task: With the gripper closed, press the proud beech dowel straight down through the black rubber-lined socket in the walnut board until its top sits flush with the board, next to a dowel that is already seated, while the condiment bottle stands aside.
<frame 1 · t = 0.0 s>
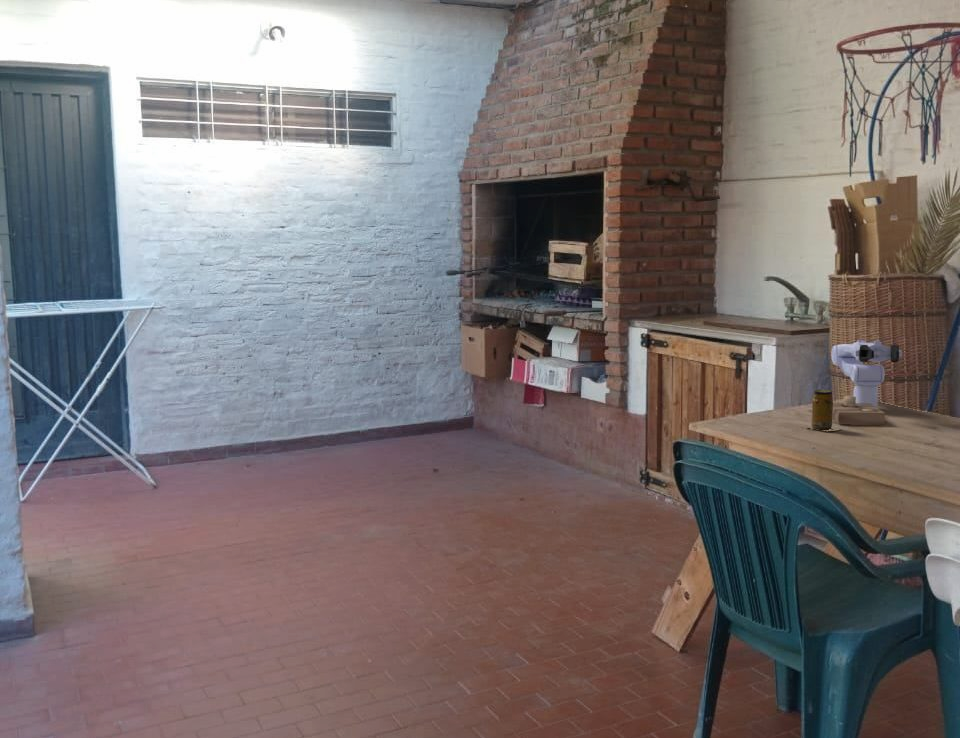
hand: (885, 354, 317), 22 cm above the table, tool horizontal, fingers open, 7 cm apart
peg: (849, 403, 326), point 5 cm above the table, slide at 3.0 cm
board: (854, 419, 323), on the table
condiment: (823, 430, 310), on the table
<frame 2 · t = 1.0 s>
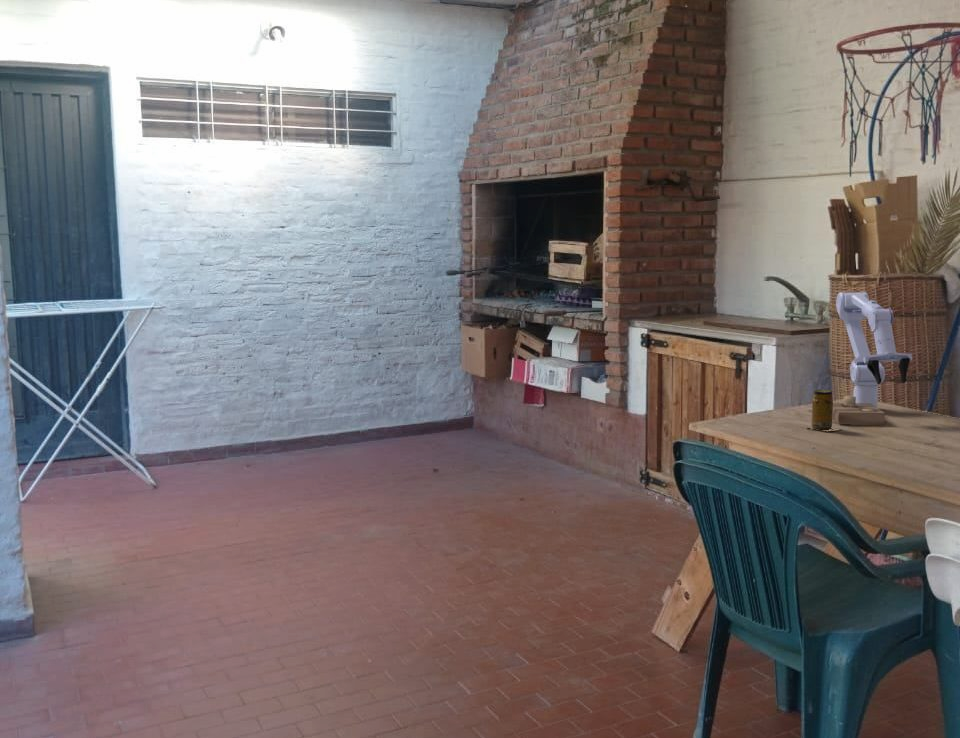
hand: (891, 382, 317), 13 cm above the table, tool tilted 30°, fingers open, 7 cm apart
nothing on the table moved.
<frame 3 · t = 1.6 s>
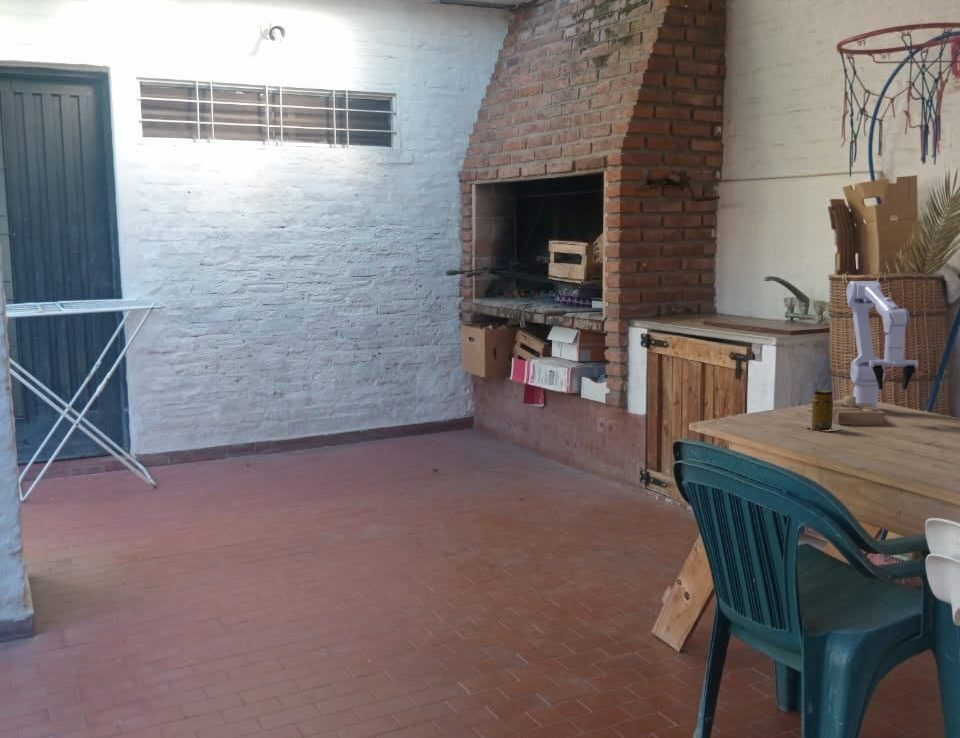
hand: (892, 389, 320), 10 cm above the table, tool pointing down, fingers open, 7 cm apart
nothing on the table moved.
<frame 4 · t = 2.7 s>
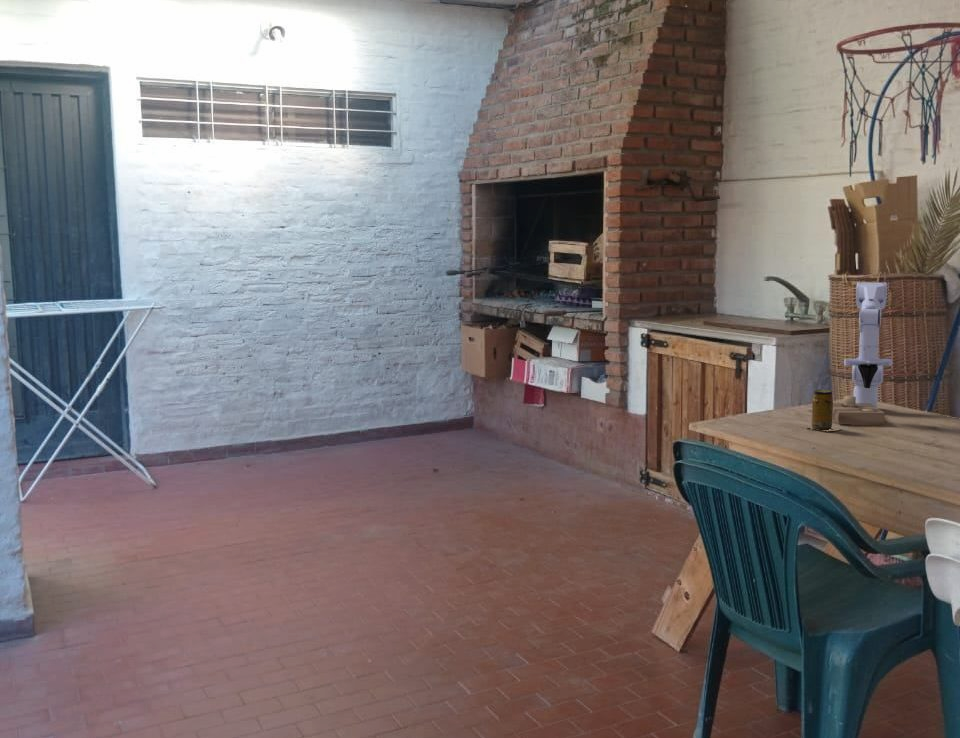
hand: (866, 387, 323), 10 cm above the table, tool pointing down, fingers closed
nothing on the table moved.
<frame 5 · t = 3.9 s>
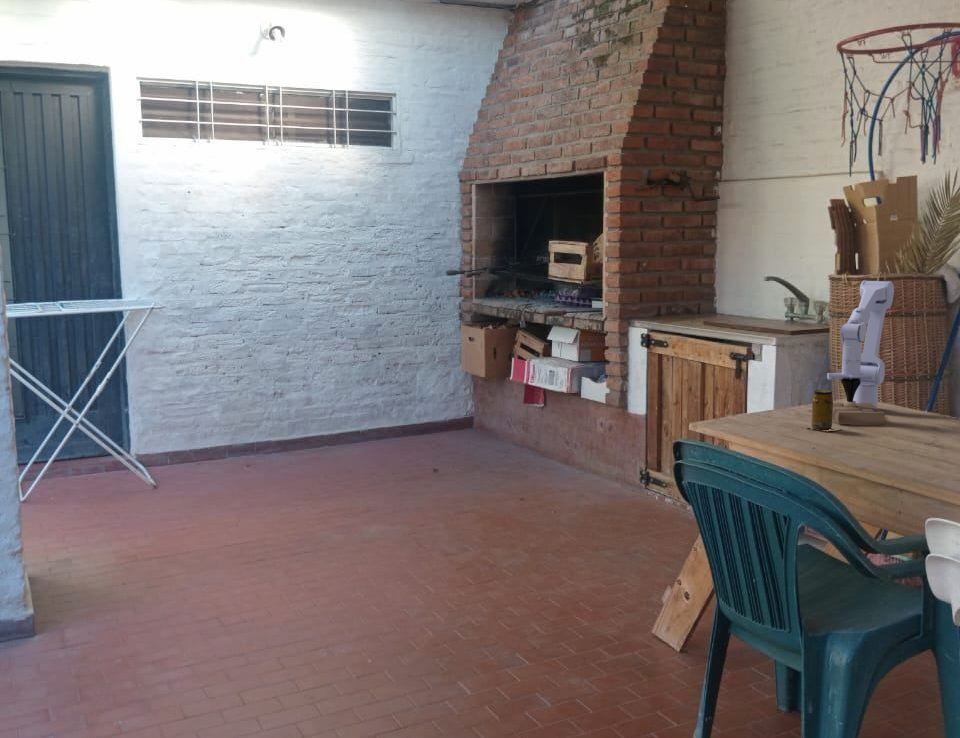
hand: (849, 401, 325), 6 cm above the table, tool pointing down, fingers closed, pressing on peg
peg: (849, 407, 326), point 4 cm above the table, slide at 1.5 cm, touching gripper
everything else where it was.
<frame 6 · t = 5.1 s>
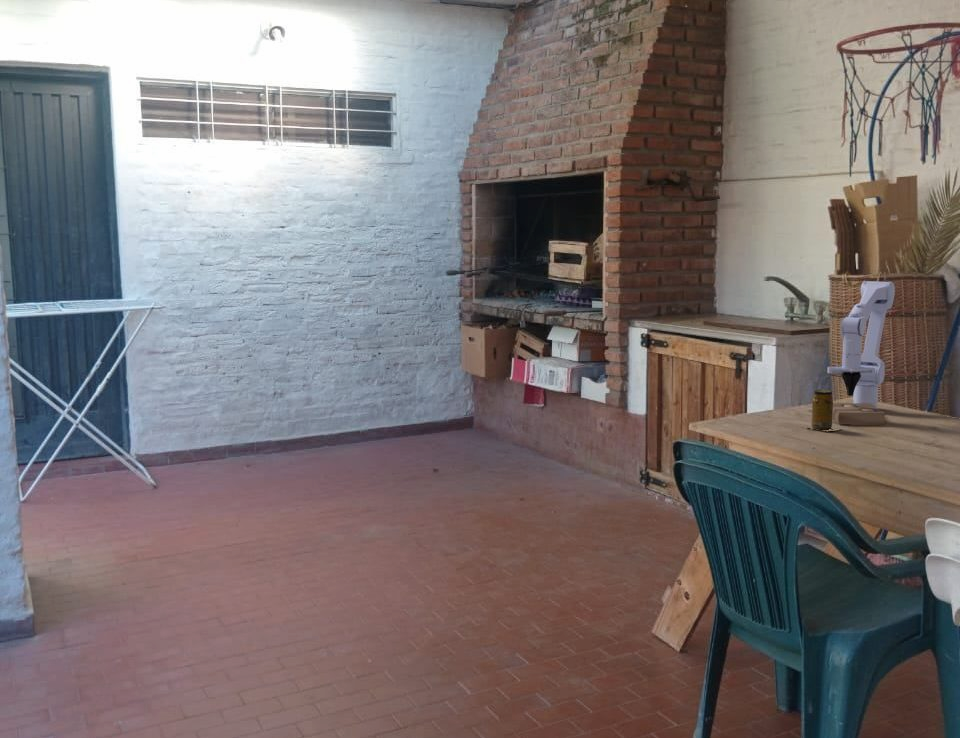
hand: (850, 395, 325), 8 cm above the table, tool pointing down, fingers closed
peg: (849, 411, 326), point 2 cm above the table, slide at 0.0 cm
everything else where it was.
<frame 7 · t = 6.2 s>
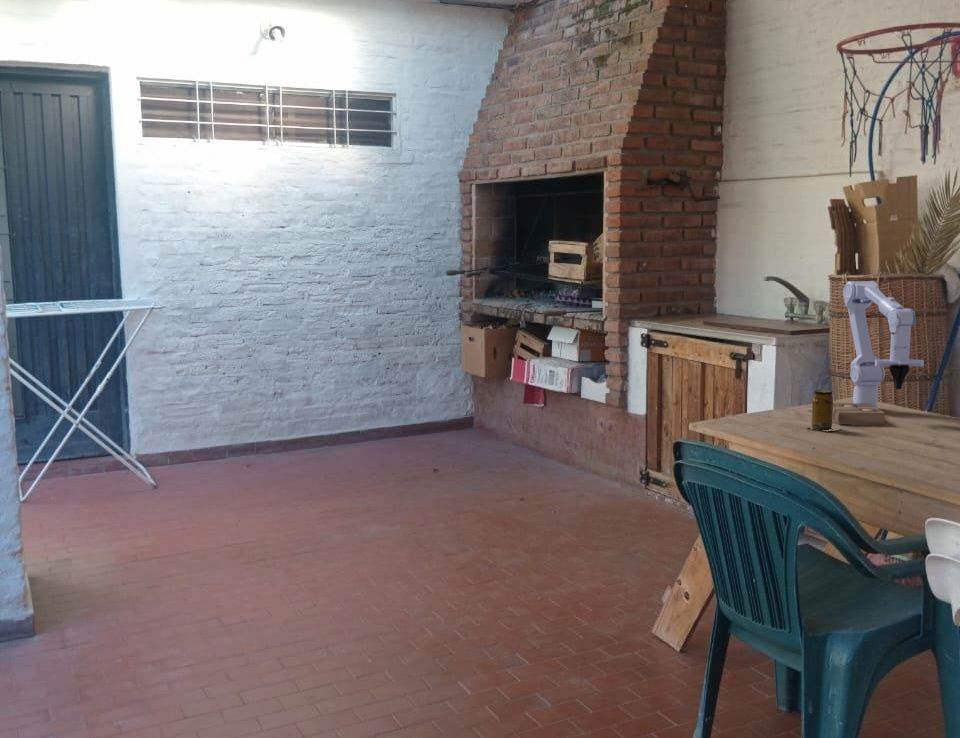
hand: (897, 388, 320), 10 cm above the table, tool pointing down, fingers closed
nothing on the table moved.
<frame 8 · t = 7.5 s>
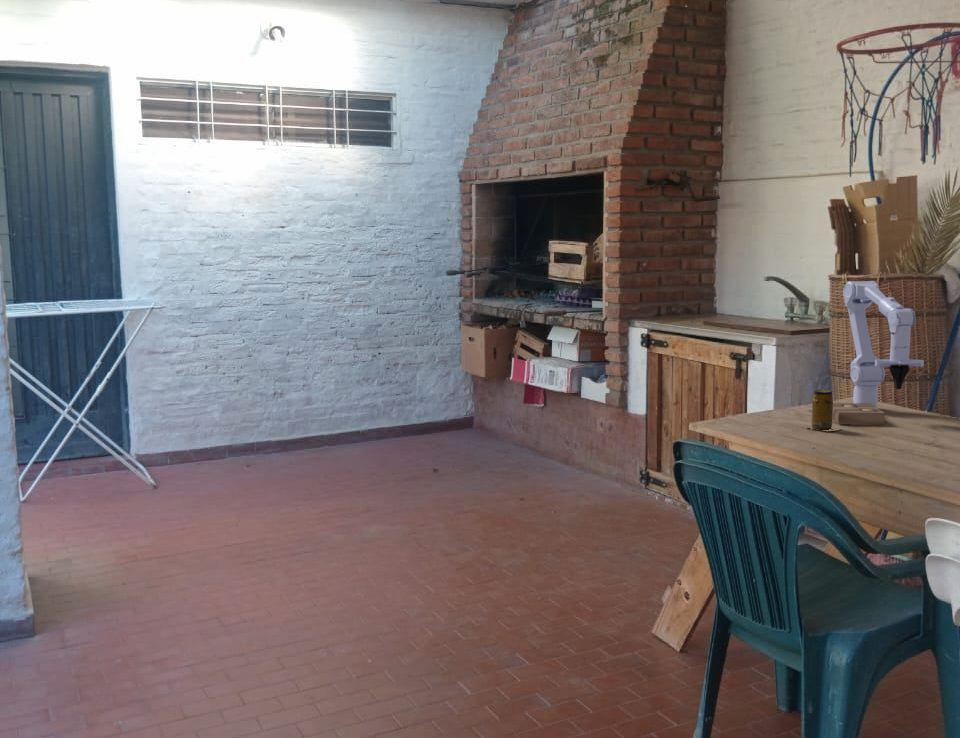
hand: (897, 388, 320), 10 cm above the table, tool pointing down, fingers closed
nothing on the table moved.
at the end: peg slide at 0.0 cm; peg resting in board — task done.
